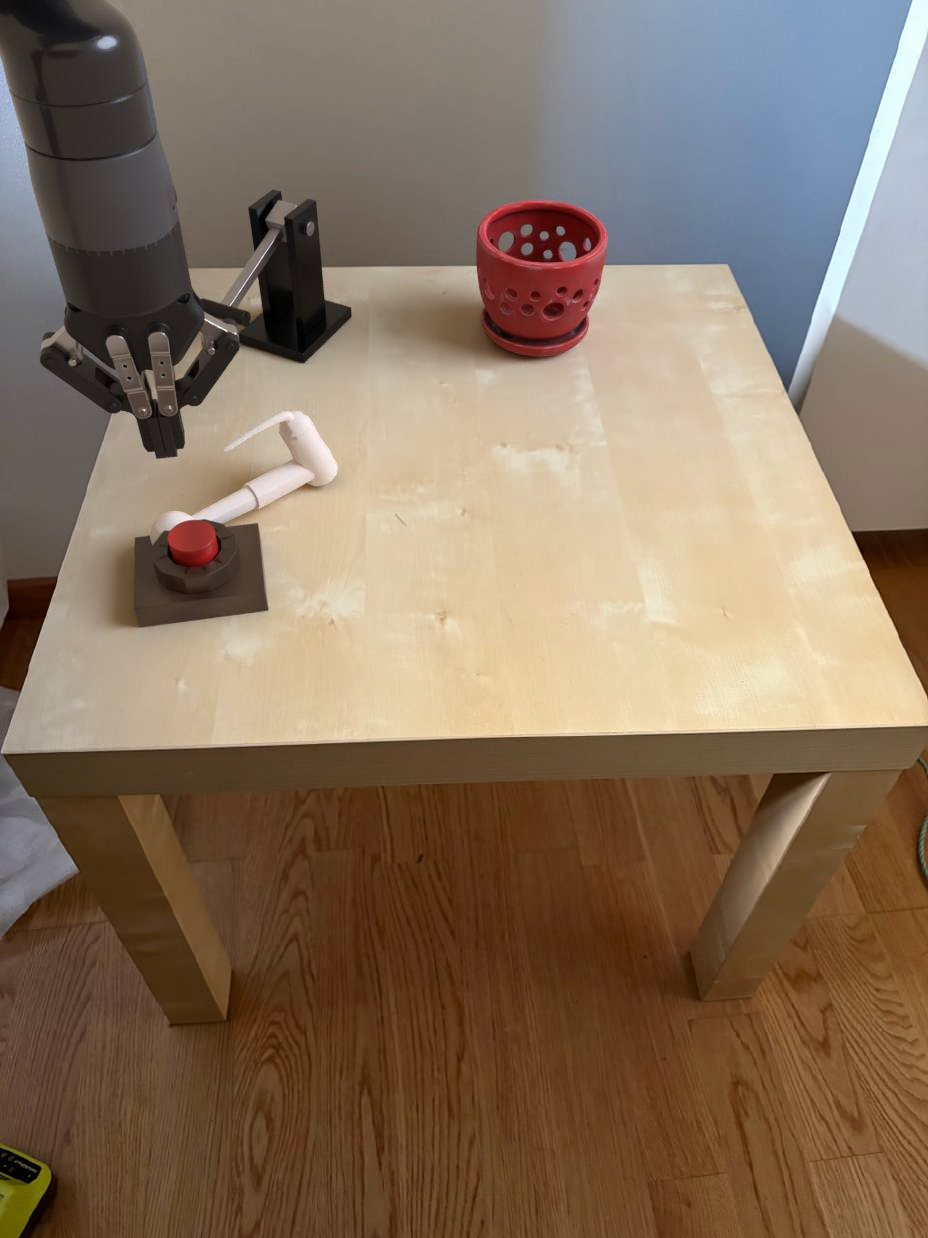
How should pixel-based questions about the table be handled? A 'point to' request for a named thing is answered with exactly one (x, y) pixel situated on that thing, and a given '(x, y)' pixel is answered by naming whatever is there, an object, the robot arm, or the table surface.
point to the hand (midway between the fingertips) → (167, 450)
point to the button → (193, 543)
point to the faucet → (305, 467)
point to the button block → (200, 578)
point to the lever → (251, 268)
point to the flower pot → (539, 276)
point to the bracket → (292, 286)
